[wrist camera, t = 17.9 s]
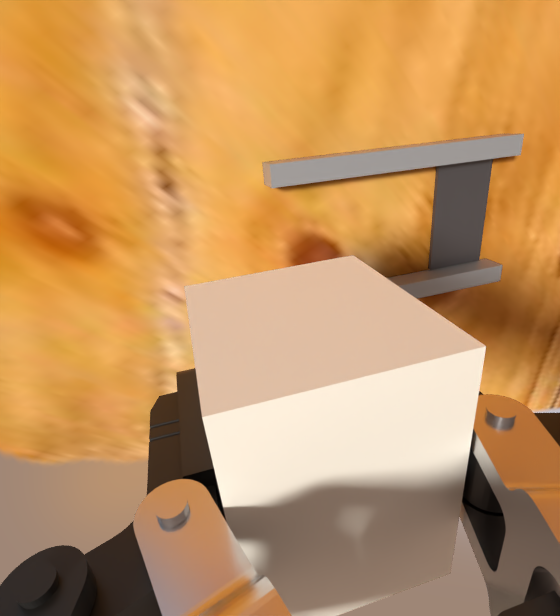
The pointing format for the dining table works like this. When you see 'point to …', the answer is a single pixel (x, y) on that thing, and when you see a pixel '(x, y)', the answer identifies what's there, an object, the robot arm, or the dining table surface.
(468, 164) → the channel
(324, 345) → the block
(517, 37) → the dining table surface
